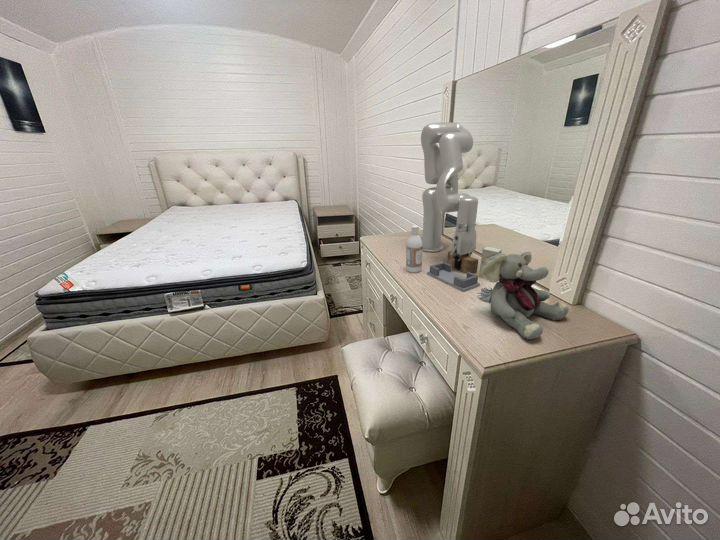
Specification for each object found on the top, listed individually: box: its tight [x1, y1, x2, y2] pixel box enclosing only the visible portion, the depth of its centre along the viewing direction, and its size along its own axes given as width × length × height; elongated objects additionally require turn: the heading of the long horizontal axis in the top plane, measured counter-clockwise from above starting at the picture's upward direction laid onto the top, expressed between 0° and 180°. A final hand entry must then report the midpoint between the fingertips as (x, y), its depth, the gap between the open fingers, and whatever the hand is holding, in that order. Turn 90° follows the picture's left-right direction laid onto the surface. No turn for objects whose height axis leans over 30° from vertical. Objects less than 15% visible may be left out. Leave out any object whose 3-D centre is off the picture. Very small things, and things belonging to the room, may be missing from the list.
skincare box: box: [478, 246, 503, 279], centre depth 119 cm, size 6×4×12 cm
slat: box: [446, 250, 479, 274], centre depth 129 cm, size 14×4×6 cm, turn 27°
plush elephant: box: [477, 251, 570, 340], centre depth 92 cm, size 27×22×21 cm
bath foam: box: [405, 225, 424, 273], centre depth 127 cm, size 7×7×20 cm
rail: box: [426, 261, 481, 293], centre depth 119 cm, size 20×9×4 cm, turn 30°
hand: (461, 266), depth 130 cm, fingers closed on slat, 4 cm apart
